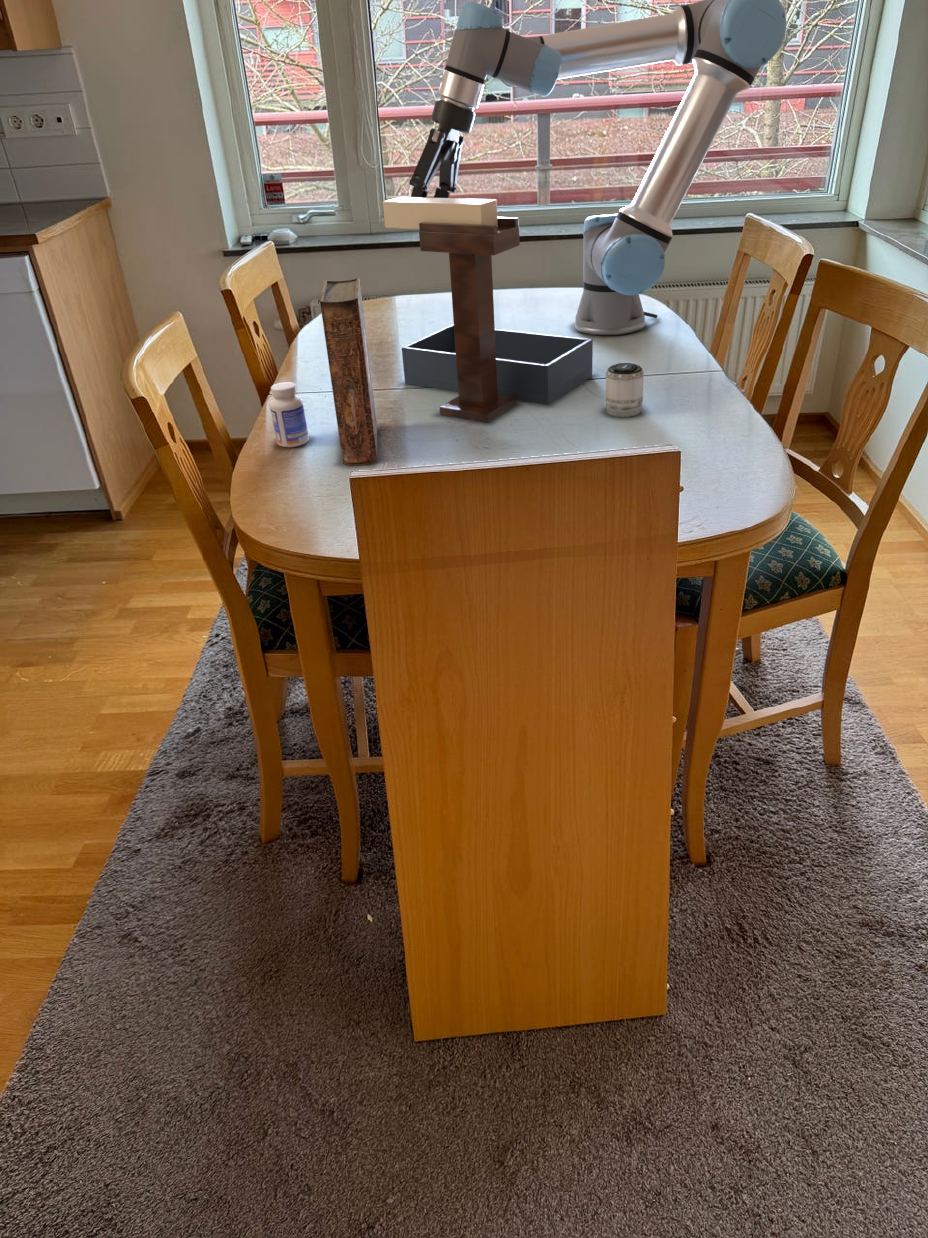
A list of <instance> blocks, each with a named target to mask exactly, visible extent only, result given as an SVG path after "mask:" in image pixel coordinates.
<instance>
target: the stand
mask: <svg viewBox="0 0 928 1238" xmlns="http://www.w3.org/2000/svg"><path fill="white" fill-rule="evenodd" d="M497 217H498V227H497V225H480V224H456V223H433V222H421V223H419V229H418V230H419V231H418V235H419V248H420V249H419V250H420V252H429V253H445V254H448V257H449V258H448V260H449V274H450V275H449V276H450V289H451V291H450V292H451V305H452V318H453V319H452V320H453V324H454V335H455V350H456V365H457V379H458V392H457V393H458V396H456V397H455V398H453V399H451V400H449V401H447V402H445V403H444V404H442V405H440V406H439V415H440V416H445V417H451V418H457V419H462V420H469V421H473V422H474V421H475V422H481V423H486V424H489V423H491V422H493V420H495V419H497V418H498V417H500V416H502V415H503V414H505V413H507V412H508V411H510V410H511V409H513V408H514V407H516V406H518V401H517V396H510V395H504V394H498V390H497V368H496V345H495V329H496V328H495V327H496V325H495V304H494V301H495V300H494V283H493V280H494V279H493V262H492V261H493V259H492V256H496V255H499V254H501V253H504V252H506V251H509V250H512V249H515V248H517V247H519V246H520V245H521V242H520V238H521V237H520V224H519V217H513V216H512V217H510V216H509V217H508V216H497Z"/></svg>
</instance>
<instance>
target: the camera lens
mask: <svg viewBox="0 0 928 1238" xmlns="http://www.w3.org/2000/svg"><path fill="white" fill-rule="evenodd" d="M644 377H645V370H644V369H643V367H642V366H641V365H639V364H636V363H633V362H618V363H615V364H613V365H610V366H609V367H608V368H607V370H606V371H605V407H606V412H607V413H608V415H610V416H613V417H618V418H628V417H634V416H637V415H639V414H640V413H641V412H642V409H643V402H644V379H645V378H644Z"/></svg>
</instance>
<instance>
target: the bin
mask: <svg viewBox="0 0 928 1238" xmlns="http://www.w3.org/2000/svg"><path fill="white" fill-rule="evenodd" d="M593 344H594V339H593V338H584V337H575V336H566V335H556V334H547V333H539V332H530V331H529V332H528V331H519V330H510V329H502V328H501V329H500V328H495V345H496V368H497V390H498V394H504V395H510V396H517V402H526V403H531V404H538V405H545V406H550V405H551V404H552V403H555V401H557V400H559V399H560V398H562V397H563V396H565V395H566V394H568V393H569V392H571V391H572V390H574V389H575V388H577V387H579V386H580V385H581V384H583V383H584V382H585V381H587V380H589V379H590V378H592V377H593V357H594V356H593V353H594V352H593V351H594V349H593V347H594V345H593ZM401 356H402V366H403V377H404V384H405V385H411V386H417V387H423V388H431V389H437V390H444V391H451V392H452V391H453V392H457V393H458V379H457V365H456V350H455V335H454V323H453V324H450V325H447V326H445V327H443V328H442V329H439V330H437V331H435V332H433V333H431V334H428V335H426V336H424V337H422V338H420V339H417V340H415V341H413V342H411V343H408V344H407V345H404V346H403V347H401Z"/></svg>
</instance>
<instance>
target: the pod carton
mask: <svg viewBox="0 0 928 1238" xmlns="http://www.w3.org/2000/svg"><path fill="white" fill-rule="evenodd" d="M382 209H383V218H384V219H383V220H384V227H385V228H387V229H405V230H406V229H407V230H408V229H409V230H420V229H419V223H421V222H433V223H456V224H480V225H497V227H498V217H499V216H498V200H497V199H496V198H493V199H492V198H462V197H461V198H457V197H449V198H434V197H427V198H423V197H411V196H398V197H395V198H391V199H390V198H389V199H387V200H383V201H382Z"/></svg>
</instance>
